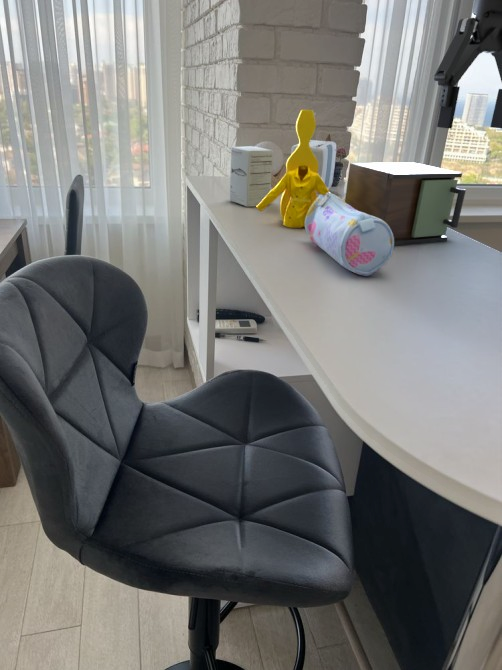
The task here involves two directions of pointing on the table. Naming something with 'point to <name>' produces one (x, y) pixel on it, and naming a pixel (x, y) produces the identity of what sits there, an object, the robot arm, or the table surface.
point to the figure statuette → (298, 177)
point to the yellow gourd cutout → (323, 159)
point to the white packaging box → (250, 174)
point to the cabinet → (393, 194)
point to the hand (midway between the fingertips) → (471, 128)
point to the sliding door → (437, 207)
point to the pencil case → (349, 234)
